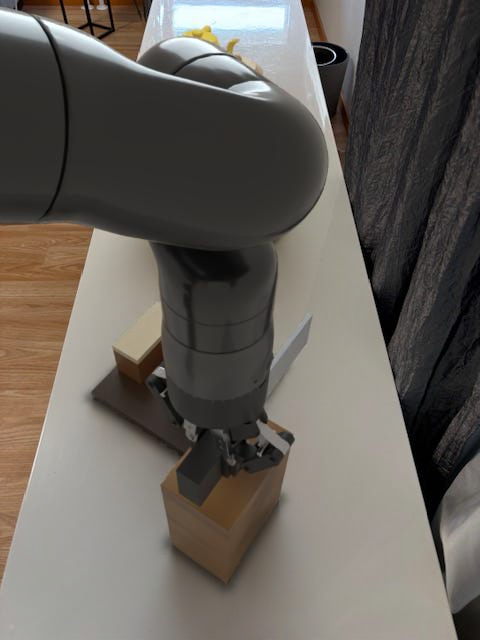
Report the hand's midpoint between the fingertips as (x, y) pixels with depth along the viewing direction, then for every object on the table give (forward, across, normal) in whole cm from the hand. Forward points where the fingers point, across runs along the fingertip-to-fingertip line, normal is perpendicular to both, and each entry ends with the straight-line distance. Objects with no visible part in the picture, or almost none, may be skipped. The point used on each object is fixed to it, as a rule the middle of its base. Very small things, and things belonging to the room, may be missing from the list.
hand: (217, 460), depth 52 cm
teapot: (+21, -65, +89) cm, 112 cm away
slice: (+20, -23, +16) cm, 34 cm away
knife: (0, 0, +6) cm, 6 cm away
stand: (+21, 0, +2) cm, 21 cm away
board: (+21, -16, +16) cm, 31 cm away
